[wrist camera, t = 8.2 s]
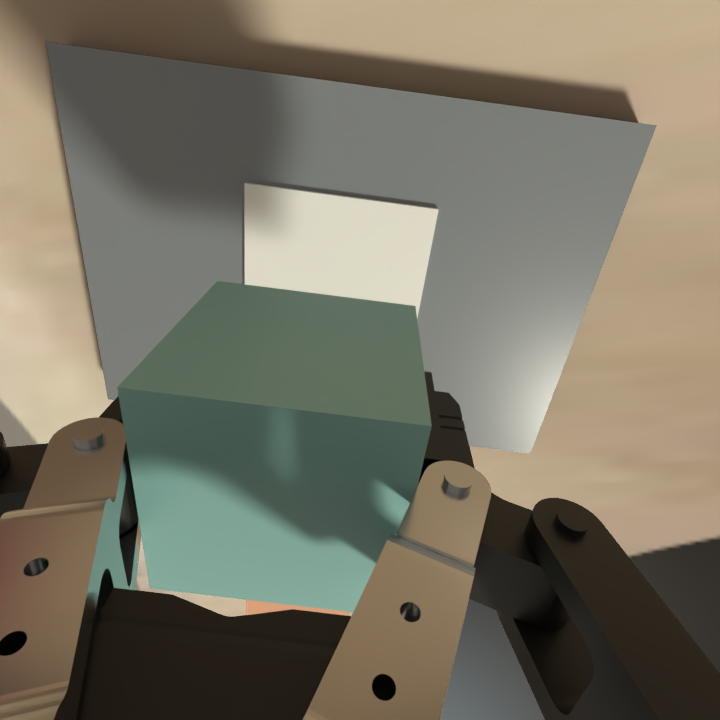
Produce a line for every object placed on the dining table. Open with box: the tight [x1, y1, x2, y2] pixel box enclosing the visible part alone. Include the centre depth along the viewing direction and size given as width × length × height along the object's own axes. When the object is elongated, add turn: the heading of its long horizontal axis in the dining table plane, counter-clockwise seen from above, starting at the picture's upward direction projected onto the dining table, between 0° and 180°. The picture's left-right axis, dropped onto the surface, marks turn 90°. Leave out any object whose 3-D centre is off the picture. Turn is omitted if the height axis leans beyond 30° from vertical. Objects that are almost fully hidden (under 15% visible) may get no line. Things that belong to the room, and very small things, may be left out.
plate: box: [46, 42, 656, 454], centre depth 19 cm, size 14×20×1 cm
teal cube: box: [117, 281, 432, 612], centre depth 11 cm, size 5×5×5 cm
